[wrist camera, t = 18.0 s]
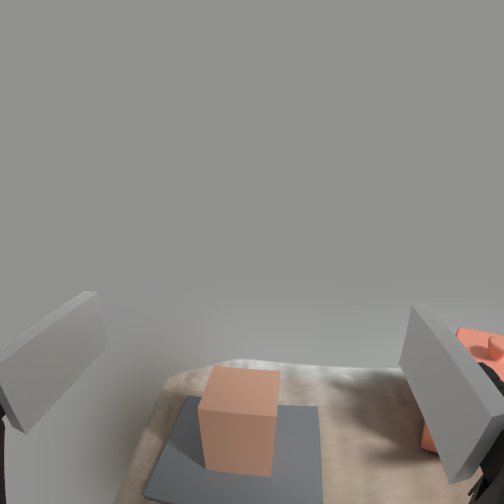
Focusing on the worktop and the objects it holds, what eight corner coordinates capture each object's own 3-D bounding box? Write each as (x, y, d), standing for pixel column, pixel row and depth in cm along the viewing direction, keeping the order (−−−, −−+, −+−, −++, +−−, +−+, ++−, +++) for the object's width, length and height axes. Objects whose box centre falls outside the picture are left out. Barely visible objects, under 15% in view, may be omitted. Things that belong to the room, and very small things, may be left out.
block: (275, 433, 34) (280, 371, 31) (270, 476, 27) (276, 416, 24) (218, 428, 34) (214, 365, 32) (206, 469, 28) (197, 408, 25)
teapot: (407, 381, 43) (428, 303, 39) (521, 405, 30) (554, 328, 27) (367, 470, 27) (402, 379, 24) (523, 500, 15) (589, 412, 11)
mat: (317, 409, 39) (317, 406, 38) (321, 520, 21) (323, 517, 21) (188, 398, 41) (188, 395, 40) (144, 497, 23) (142, 494, 23)
